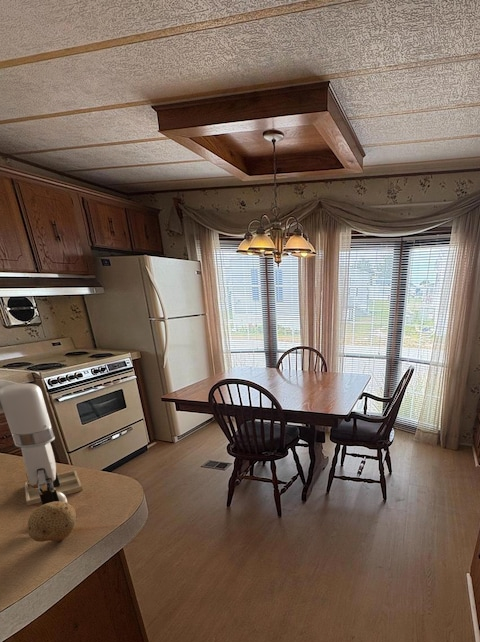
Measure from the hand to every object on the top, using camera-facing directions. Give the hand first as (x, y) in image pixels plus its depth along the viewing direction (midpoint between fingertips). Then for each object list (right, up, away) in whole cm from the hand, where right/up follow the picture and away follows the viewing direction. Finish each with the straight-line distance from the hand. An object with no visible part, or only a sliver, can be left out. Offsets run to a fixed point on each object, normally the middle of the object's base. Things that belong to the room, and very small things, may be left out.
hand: (52, 496), depth 88 cm
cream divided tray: (-10, 0, +13) cm, 16 cm away
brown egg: (-14, 0, +13) cm, 19 cm away
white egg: (0, -5, +2) cm, 5 cm away
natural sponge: (+7, -9, -7) cm, 14 cm away
